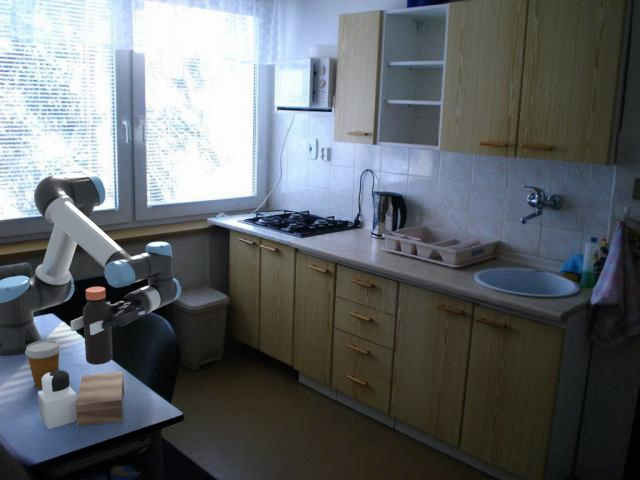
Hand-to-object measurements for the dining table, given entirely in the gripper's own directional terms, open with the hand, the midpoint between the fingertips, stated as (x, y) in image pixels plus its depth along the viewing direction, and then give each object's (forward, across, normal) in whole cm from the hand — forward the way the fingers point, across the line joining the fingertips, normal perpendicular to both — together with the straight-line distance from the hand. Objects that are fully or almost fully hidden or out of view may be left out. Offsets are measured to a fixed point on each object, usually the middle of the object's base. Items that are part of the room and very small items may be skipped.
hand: (81, 328), depth 161 cm
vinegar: (-5, 0, -11) cm, 12 cm away
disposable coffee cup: (-9, +25, -25) cm, 36 cm away
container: (+5, +5, -25) cm, 26 cm away
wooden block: (-4, -1, -24) cm, 25 cm away
